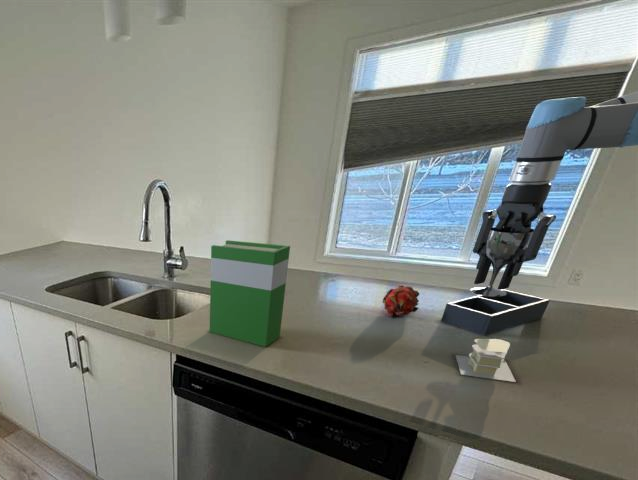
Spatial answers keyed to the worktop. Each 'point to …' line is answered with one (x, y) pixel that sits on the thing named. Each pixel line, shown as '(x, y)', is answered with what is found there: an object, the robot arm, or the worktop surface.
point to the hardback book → (248, 290)
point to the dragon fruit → (401, 301)
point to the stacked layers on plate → (486, 360)
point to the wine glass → (502, 255)
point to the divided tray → (494, 312)
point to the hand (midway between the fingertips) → (490, 285)
